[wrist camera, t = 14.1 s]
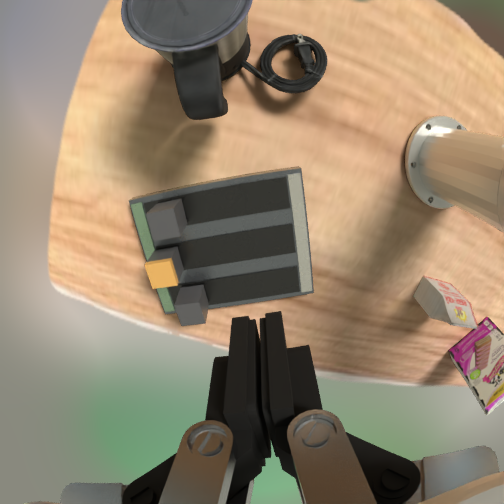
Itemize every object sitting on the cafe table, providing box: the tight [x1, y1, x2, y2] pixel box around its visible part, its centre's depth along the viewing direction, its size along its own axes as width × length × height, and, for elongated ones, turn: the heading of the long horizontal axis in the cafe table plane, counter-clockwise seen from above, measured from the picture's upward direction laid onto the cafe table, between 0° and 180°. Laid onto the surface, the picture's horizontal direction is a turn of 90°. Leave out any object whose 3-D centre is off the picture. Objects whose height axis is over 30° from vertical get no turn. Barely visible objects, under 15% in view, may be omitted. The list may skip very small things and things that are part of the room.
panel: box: [129, 166, 314, 314], centre depth 36 cm, size 20×16×2 cm
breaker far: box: [174, 285, 209, 326], centre depth 35 cm, size 3×3×4 cm
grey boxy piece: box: [413, 276, 479, 329], centre depth 36 cm, size 4×7×10 cm, turn 75°
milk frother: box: [121, 0, 327, 120], centre depth 21 cm, size 14×16×15 cm
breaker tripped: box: [145, 247, 184, 289], centre depth 33 cm, size 3×3×4 cm
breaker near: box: [146, 199, 187, 241], centre depth 31 cm, size 3×3×4 cm
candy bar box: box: [449, 317, 504, 415], centre depth 38 cm, size 11×5×16 cm, turn 131°
